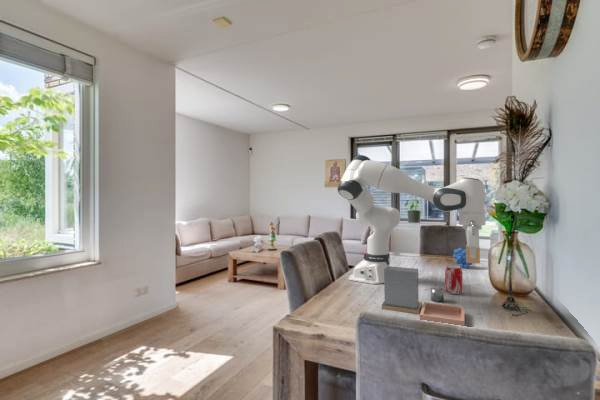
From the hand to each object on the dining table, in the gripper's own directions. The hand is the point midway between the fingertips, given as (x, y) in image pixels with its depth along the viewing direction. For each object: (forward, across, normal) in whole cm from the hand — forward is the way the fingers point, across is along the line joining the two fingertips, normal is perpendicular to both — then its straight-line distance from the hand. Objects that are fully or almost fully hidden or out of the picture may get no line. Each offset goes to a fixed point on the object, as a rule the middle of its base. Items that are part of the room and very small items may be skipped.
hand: (472, 256), depth 119 cm
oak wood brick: (+2, 0, 0) cm, 2 cm away
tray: (+21, -12, +10) cm, 26 cm away
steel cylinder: (+21, +7, +13) cm, 26 cm away
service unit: (+21, -7, +25) cm, 33 cm away
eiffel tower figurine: (+22, +8, -13) cm, 27 cm away
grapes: (+21, +74, +4) cm, 77 cm away
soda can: (+21, +21, +7) cm, 31 cm away
